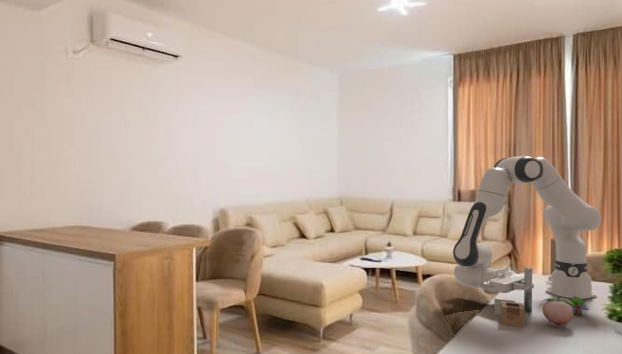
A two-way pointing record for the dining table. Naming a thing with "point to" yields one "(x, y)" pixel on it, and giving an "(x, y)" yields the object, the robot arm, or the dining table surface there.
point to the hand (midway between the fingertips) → (530, 287)
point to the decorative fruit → (558, 311)
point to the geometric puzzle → (578, 305)
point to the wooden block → (553, 255)
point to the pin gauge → (529, 292)
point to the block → (499, 306)
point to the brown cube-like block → (512, 313)
